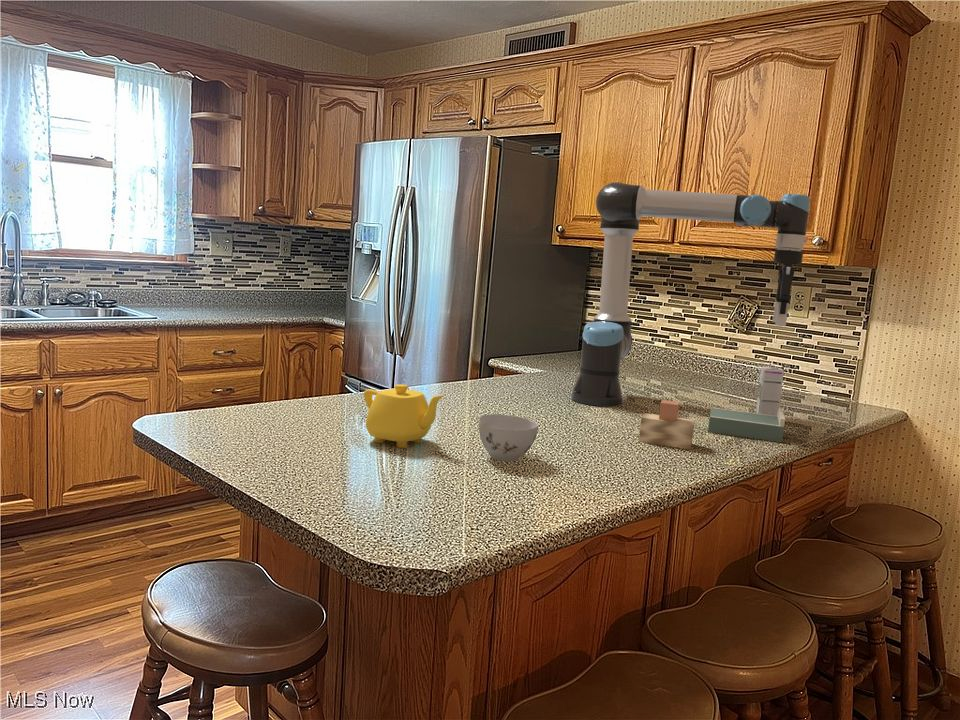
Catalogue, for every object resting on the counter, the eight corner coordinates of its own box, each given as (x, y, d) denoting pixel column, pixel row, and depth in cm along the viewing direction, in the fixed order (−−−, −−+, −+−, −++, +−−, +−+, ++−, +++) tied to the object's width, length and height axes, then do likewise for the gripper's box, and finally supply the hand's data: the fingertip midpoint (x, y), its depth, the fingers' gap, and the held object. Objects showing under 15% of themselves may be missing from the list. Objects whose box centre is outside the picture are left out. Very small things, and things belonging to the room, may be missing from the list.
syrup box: (778, 419, 220) (785, 370, 218) (757, 416, 221) (764, 368, 219) (775, 415, 225) (781, 367, 223) (754, 413, 227) (760, 365, 224)
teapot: (424, 457, 153) (428, 397, 151) (344, 439, 162) (347, 382, 160) (456, 444, 165) (460, 388, 163) (379, 428, 174) (382, 375, 172)
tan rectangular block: (638, 442, 180) (641, 417, 179) (641, 436, 186) (644, 413, 185) (690, 449, 176) (693, 424, 175) (691, 444, 182) (694, 420, 181)
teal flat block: (707, 432, 196) (710, 409, 195) (709, 421, 209) (712, 400, 208) (781, 442, 190) (785, 419, 189) (779, 431, 203) (782, 409, 203)
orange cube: (658, 419, 179) (660, 402, 178) (660, 416, 183) (662, 399, 182) (676, 421, 178) (678, 404, 177) (677, 418, 181) (679, 402, 181)
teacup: (518, 470, 148) (521, 431, 147) (464, 458, 154) (466, 420, 153) (550, 455, 161) (553, 419, 160) (498, 444, 167) (501, 409, 166)
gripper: (807, 250, 202) (796, 328, 205) (799, 251, 225) (789, 322, 228) (777, 247, 204) (767, 325, 207) (772, 249, 228) (763, 319, 231)
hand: (778, 324), depth 218 cm, fingers open, 13 cm apart
